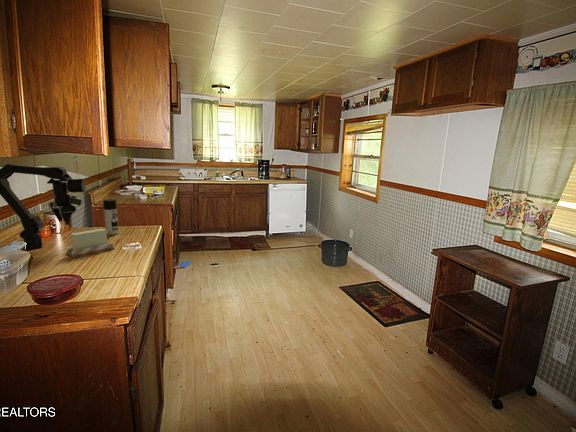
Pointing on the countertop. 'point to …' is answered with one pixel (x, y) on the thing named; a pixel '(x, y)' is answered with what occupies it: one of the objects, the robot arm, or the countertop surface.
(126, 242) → the countertop surface
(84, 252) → the bottom track
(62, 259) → the countertop surface
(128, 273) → the countertop surface
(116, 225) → the spray can
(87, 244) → the pale green rectangular block
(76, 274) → the countertop surface
